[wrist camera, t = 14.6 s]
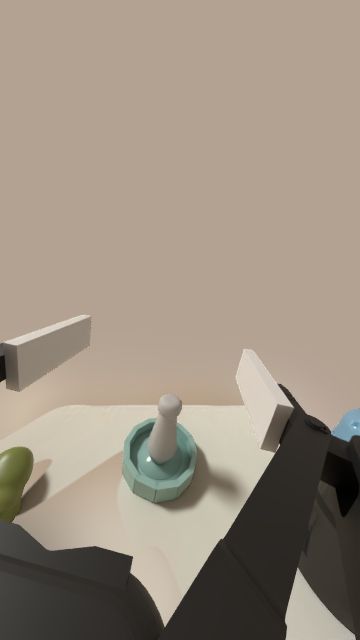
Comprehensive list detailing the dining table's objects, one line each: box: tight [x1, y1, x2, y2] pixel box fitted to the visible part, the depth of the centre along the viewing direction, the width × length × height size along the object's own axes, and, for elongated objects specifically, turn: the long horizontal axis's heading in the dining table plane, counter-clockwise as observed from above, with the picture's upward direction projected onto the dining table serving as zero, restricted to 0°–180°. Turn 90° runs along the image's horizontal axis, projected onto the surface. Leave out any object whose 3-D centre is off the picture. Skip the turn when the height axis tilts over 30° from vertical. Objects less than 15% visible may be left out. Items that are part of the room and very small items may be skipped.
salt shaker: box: [147, 394, 182, 465], centre depth 34 cm, size 6×6×13 cm
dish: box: [122, 418, 198, 503], centre depth 36 cm, size 14×14×3 cm
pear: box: [0, 447, 34, 523], centre depth 27 cm, size 6×5×10 cm
